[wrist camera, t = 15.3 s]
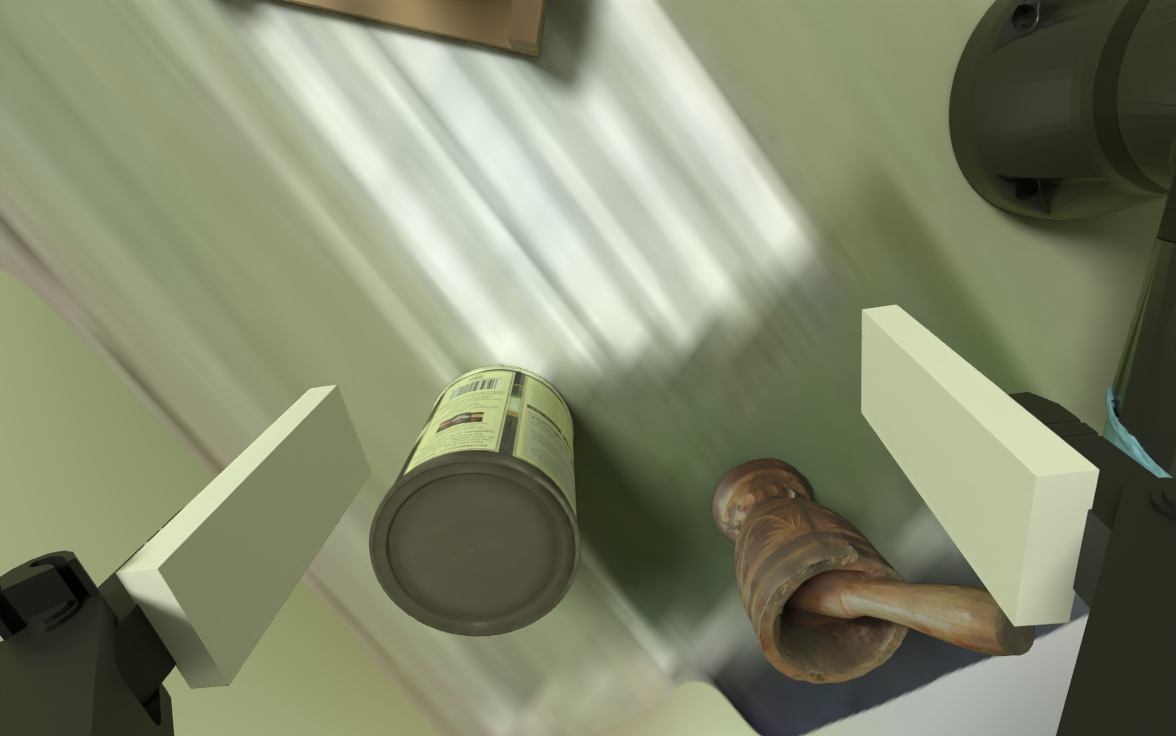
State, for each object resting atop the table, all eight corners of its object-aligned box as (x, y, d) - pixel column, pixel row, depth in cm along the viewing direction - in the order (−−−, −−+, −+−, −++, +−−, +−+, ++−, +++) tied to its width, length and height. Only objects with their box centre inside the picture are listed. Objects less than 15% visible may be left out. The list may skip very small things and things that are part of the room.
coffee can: (499, 522, 45) (473, 671, 32) (398, 427, 42) (322, 546, 29) (605, 438, 43) (623, 559, 30) (506, 333, 41) (478, 415, 27)
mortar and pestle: (750, 396, 43) (900, 577, 24) (857, 432, 44) (1081, 632, 25) (687, 531, 46) (775, 785, 27) (789, 560, 47) (941, 824, 28)
